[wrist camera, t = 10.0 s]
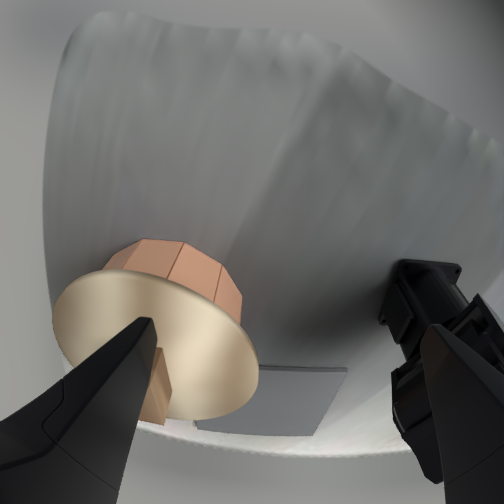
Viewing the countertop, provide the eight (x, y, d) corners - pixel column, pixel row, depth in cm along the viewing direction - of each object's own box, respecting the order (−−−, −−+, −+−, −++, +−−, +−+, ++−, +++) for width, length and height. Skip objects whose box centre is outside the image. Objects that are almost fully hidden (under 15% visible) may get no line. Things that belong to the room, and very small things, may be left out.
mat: (346, 368, 27) (347, 371, 27) (312, 433, 35) (312, 435, 35) (187, 358, 27) (186, 362, 27) (198, 426, 35) (197, 429, 35)
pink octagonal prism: (245, 247, 21) (239, 302, 16) (238, 357, 27) (233, 411, 22) (93, 234, 21) (52, 278, 16) (120, 341, 27) (99, 387, 22)
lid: (271, 283, 15) (272, 339, 12) (250, 420, 22) (248, 459, 19) (31, 257, 15) (-3, 292, 12) (91, 392, 22) (78, 424, 19)
